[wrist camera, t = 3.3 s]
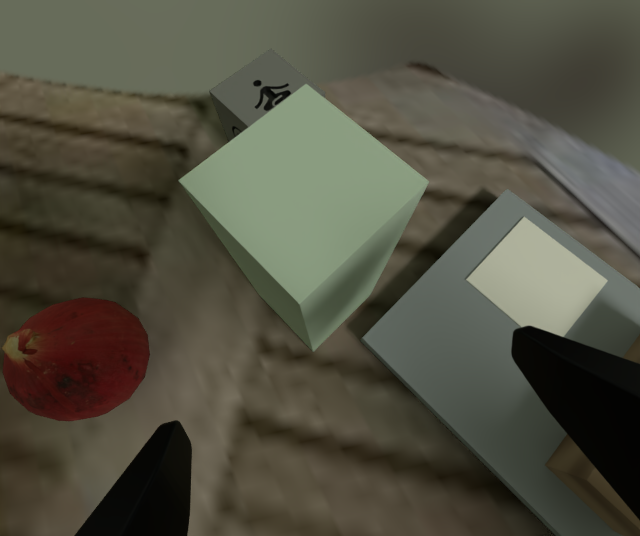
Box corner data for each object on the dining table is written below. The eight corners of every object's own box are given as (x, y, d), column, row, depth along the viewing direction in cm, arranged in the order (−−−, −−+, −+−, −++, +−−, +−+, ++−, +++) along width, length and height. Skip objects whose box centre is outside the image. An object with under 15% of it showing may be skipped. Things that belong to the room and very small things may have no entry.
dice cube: (274, 186, 25) (262, 139, 20) (229, 144, 26) (209, 90, 21) (324, 146, 26) (325, 92, 21) (280, 107, 27) (271, 48, 22)
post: (313, 351, 21) (299, 304, 9) (258, 294, 22) (178, 180, 10) (369, 295, 22) (429, 181, 10) (315, 243, 23) (306, 83, 11)
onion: (190, 373, 21) (113, 366, 13) (100, 436, 20) (-40, 468, 12) (146, 296, 22) (53, 249, 15) (60, 350, 21) (-87, 331, 14)
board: (592, 572, 17) (612, 586, 16) (359, 340, 21) (362, 337, 20) (721, 368, 20) (747, 367, 19) (498, 197, 24) (507, 187, 23)
